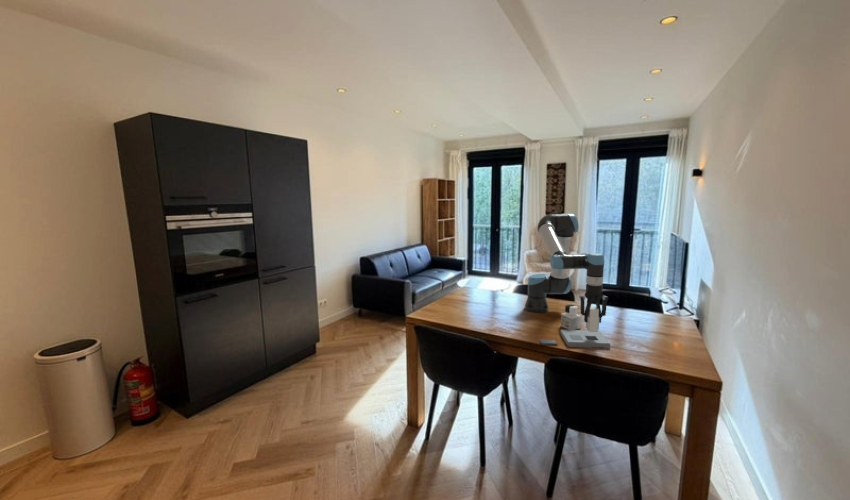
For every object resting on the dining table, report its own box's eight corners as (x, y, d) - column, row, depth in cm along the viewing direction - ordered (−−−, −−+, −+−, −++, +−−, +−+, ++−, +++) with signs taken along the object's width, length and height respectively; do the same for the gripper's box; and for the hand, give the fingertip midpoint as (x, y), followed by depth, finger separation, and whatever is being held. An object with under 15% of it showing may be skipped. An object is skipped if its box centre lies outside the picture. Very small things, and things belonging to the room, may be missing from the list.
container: (560, 326, 201) (561, 304, 199) (570, 323, 203) (571, 302, 201) (570, 330, 194) (571, 308, 192) (580, 328, 196) (582, 306, 194)
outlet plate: (560, 333, 189) (560, 329, 189) (598, 335, 186) (599, 330, 186) (567, 346, 174) (568, 341, 173) (610, 348, 171) (610, 343, 170)
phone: (539, 341, 181) (539, 339, 181) (555, 341, 180) (555, 340, 179) (541, 344, 177) (541, 343, 176) (557, 345, 175) (557, 343, 175)
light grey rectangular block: (586, 328, 179) (587, 306, 177) (595, 329, 178) (596, 306, 176) (589, 331, 175) (590, 309, 173) (597, 332, 174) (598, 309, 172)
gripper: (578, 285, 170) (576, 330, 174) (615, 286, 168) (612, 331, 171) (574, 282, 178) (572, 325, 181) (609, 282, 175) (607, 326, 179)
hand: (592, 328), depth 176 cm, fingers closed on light grey rectangular block, 4 cm apart
